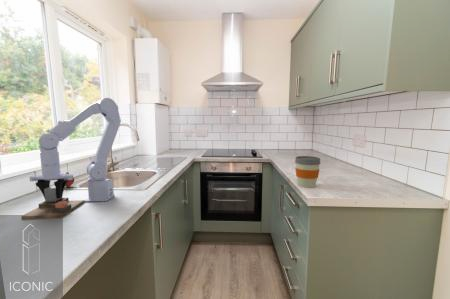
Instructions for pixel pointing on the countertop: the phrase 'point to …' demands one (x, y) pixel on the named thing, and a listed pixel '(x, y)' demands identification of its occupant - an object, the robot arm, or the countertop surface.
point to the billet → (51, 195)
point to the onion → (69, 182)
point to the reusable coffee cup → (307, 171)
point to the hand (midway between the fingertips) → (53, 198)
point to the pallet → (52, 210)
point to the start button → (61, 204)
